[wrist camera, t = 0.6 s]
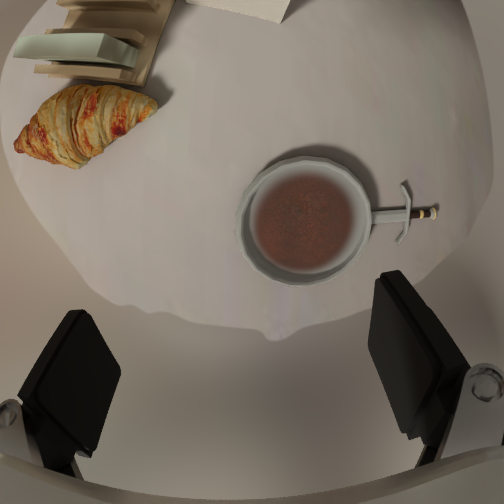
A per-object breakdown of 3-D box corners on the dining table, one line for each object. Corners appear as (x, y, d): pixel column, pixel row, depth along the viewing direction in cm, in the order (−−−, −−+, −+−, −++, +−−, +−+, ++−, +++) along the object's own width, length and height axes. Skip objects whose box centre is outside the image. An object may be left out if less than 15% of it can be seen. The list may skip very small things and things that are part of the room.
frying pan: (433, 270, 38) (243, 298, 38) (423, 261, 41) (243, 285, 41) (447, 155, 30) (225, 164, 30) (435, 151, 33) (226, 160, 33)
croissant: (166, 84, 31) (147, 47, 23) (166, 156, 31) (142, 128, 23) (35, 124, 31) (3, 104, 23) (28, 189, 31) (-10, 177, 23)
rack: (88, -23, 20) (47, -48, 10) (185, -22, 22) (164, -62, 13) (52, 77, 26) (-1, 76, 17) (144, 86, 28) (104, 80, 19)
